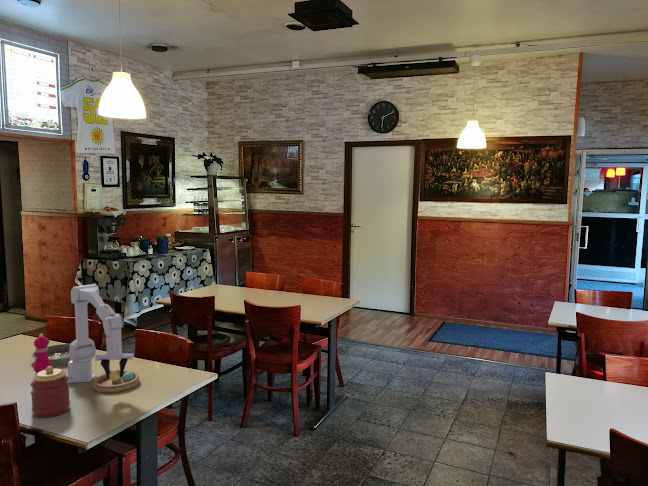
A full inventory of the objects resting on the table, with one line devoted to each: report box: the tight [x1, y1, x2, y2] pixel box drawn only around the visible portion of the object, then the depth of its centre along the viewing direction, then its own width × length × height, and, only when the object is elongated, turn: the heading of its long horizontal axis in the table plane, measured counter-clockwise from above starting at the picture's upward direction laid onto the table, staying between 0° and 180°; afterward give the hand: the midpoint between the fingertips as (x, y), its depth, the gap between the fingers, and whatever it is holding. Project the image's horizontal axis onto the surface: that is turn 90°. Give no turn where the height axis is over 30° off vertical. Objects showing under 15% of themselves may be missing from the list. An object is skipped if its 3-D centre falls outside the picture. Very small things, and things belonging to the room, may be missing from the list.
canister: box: [30, 366, 71, 418], centre depth 189 cm, size 13×13×18 cm
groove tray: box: [92, 369, 140, 394], centre depth 216 cm, size 18×18×3 cm
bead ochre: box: [109, 368, 120, 380], centre depth 203 cm, size 5×5×5 cm
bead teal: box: [122, 372, 134, 383], centre depth 216 cm, size 5×5×5 cm
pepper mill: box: [33, 333, 53, 375], centre depth 223 cm, size 7×7×20 cm
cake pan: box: [31, 343, 71, 367], centre depth 247 cm, size 25×25×4 cm
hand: (115, 376), depth 203 cm, fingers closed on bead ochre, 5 cm apart
